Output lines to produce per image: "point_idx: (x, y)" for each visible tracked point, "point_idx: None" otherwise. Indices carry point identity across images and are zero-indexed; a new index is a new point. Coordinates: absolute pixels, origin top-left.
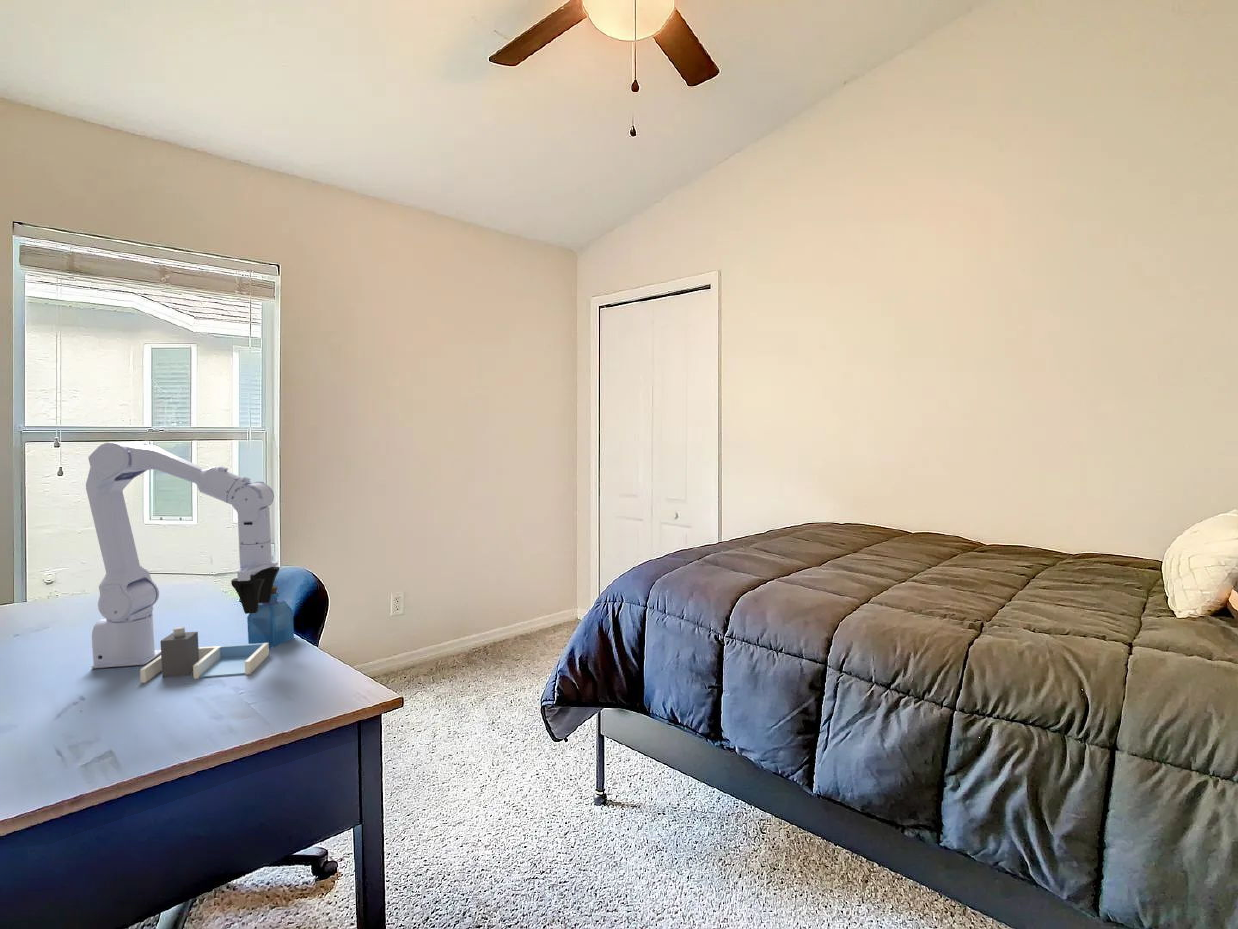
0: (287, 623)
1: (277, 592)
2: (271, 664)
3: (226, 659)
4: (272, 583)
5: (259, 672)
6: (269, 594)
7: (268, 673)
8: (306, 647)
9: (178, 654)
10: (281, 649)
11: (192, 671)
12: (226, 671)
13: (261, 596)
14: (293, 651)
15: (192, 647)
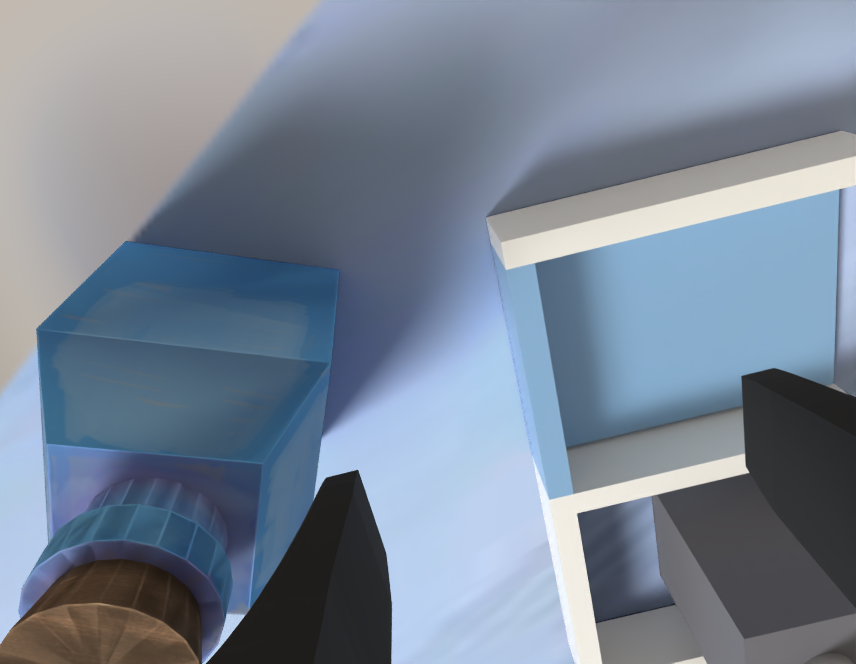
0: (153, 298)
1: (76, 552)
2: (675, 89)
3: (587, 408)
4: (305, 617)
5: (813, 87)
6: (348, 525)
7: (847, 10)
8: (328, 11)
9: None
10: (379, 190)
11: None
12: (788, 291)
13: (374, 583)
14: (420, 72)
15: (786, 559)
